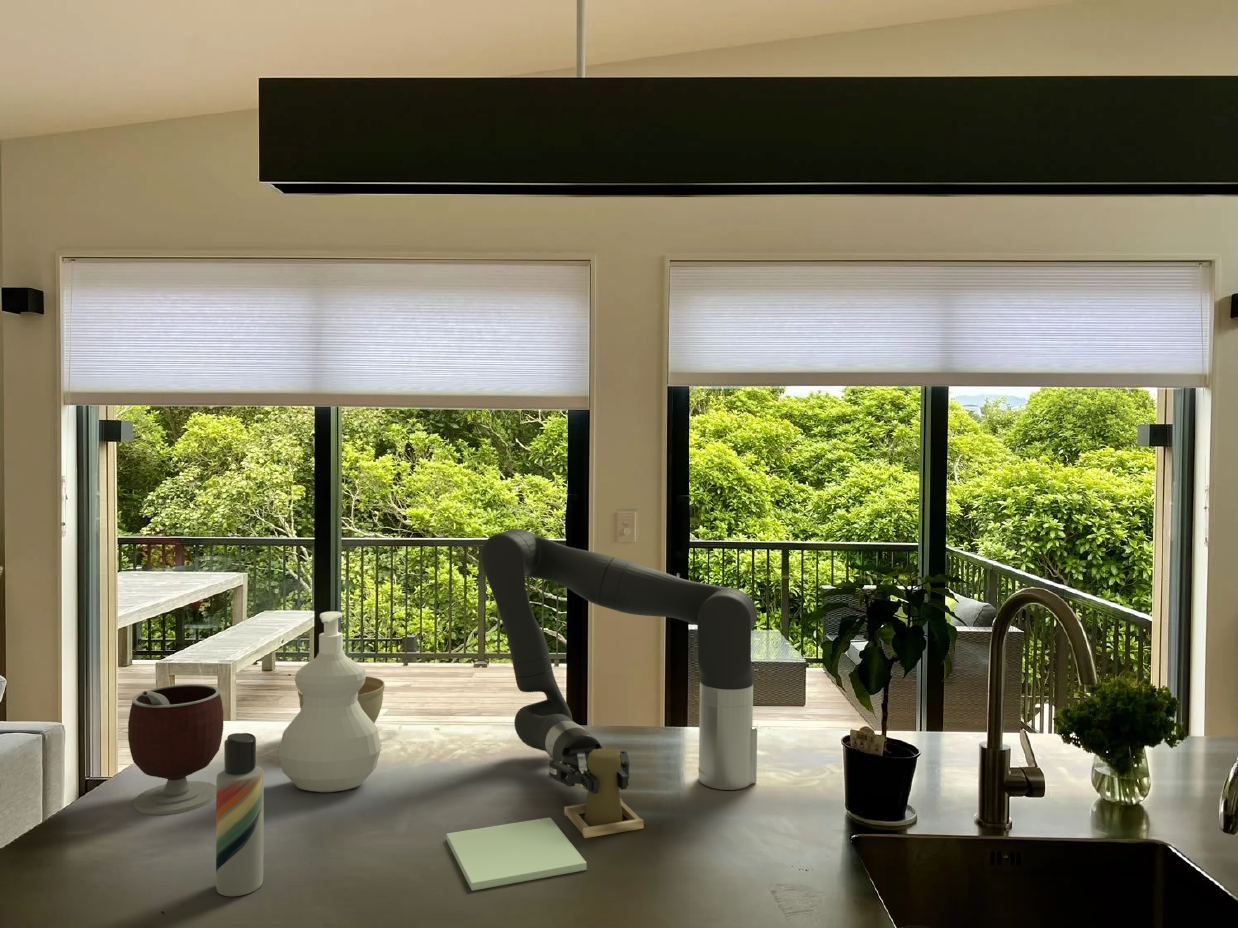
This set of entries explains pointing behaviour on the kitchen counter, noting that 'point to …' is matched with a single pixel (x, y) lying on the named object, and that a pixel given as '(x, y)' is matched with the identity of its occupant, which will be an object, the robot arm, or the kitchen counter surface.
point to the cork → (604, 788)
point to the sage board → (514, 853)
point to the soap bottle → (330, 721)
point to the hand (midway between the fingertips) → (610, 784)
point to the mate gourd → (175, 744)
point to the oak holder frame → (606, 828)
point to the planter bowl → (366, 697)
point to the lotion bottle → (239, 818)
